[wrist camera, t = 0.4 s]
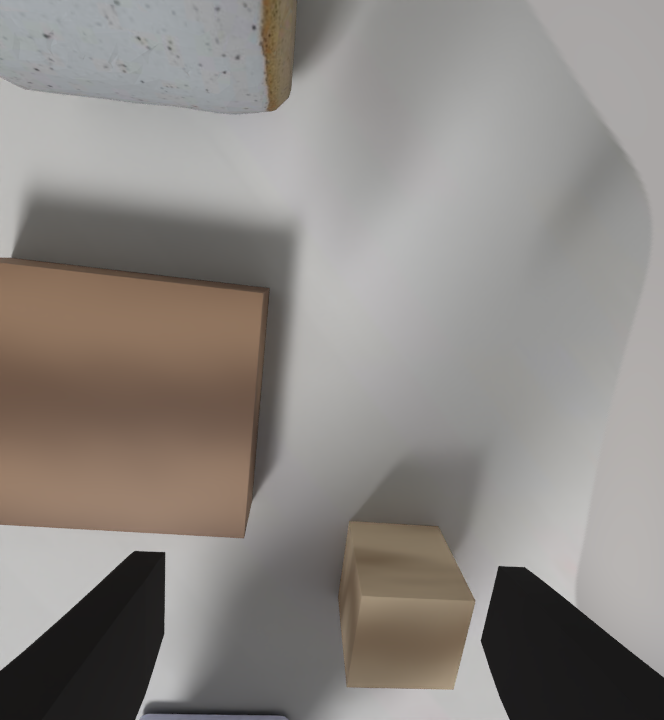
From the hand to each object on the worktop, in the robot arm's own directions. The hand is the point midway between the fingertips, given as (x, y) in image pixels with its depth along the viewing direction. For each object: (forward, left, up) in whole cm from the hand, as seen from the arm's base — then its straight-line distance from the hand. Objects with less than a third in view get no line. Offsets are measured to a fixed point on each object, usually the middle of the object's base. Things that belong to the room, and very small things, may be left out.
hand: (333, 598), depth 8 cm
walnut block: (+1, +8, -10) cm, 13 cm away
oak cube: (-7, -4, -10) cm, 13 cm away
